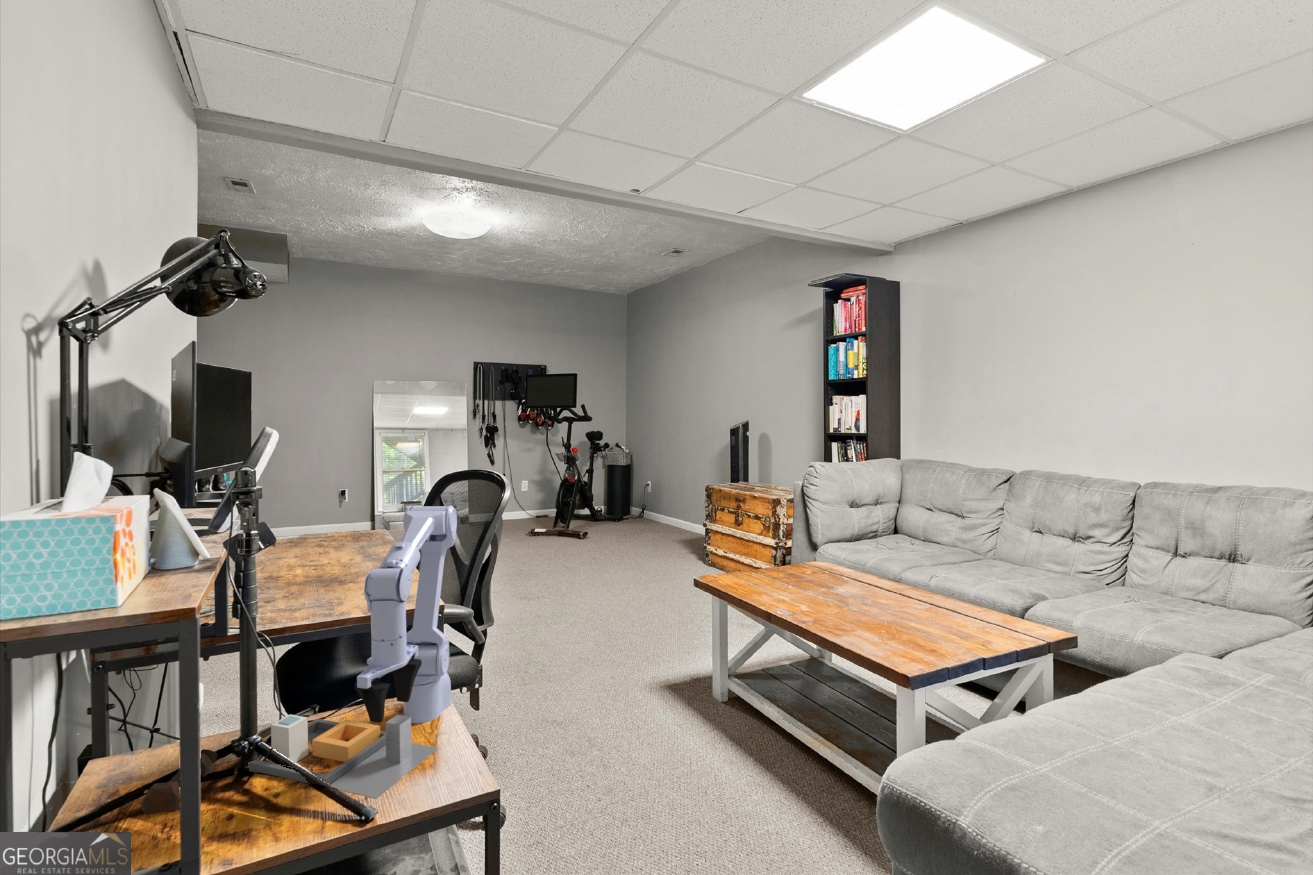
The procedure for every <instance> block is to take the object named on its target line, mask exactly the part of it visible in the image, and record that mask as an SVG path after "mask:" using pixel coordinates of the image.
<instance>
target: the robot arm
mask: <svg viewBox="0 0 1313 875" xmlns="http://www.w3.org/2000/svg"><path fill="white" fill-rule="evenodd" d="M402 525H403V529H404V533H403V534H402V535H403V536H402V538H401V541H398V542H397V543H394V544H393V545H392V546H391V547H390V549H389V551H388V552H387V554H386V555H385V557H383V558H384V559H383V560H382V562H381V563H380V565H379V567H378V568H373V569H372V570H371V571H369V572H368V573H367V575H366V577H365V581H364V587H363V593H364V599H365V600H366V604H367V606H366V607H367V612H368V613H370V629H371V631H370V634H371V635H370V636H371V639H370V640H371V641H370V642H371V646H370V647H371V657H369V658H367V659H366V664H368V665H366V667H365V669H364V670H363V671H362V672H361V673H360V674H359V675H357V676H356V682H354V691H356V693H357V694H358V696H360V698H361V700H362V701H363V704H364V706H365V709H366V711H367V715H368V718H369V722H371V723H378V724H379V723H382V722H383V721H384V718H385V706H386V705H385V704H386V698H387V694H388V692H389V689H390V686H391V684H390V683H384V682H382V680H380V679H381V678H382V677H384V676H385V675H386V674H389V673H391V672H392V676H393V679H394V680H393V681H394V687H395V697H396V701H397V702H403V716H407V717H411V724H424V723H429V722H431V721H432V722H433V720H436V719H437V718H438V717H439V716H441V714H442V713H443V712H444V711H445V710H447V709H448V708H450V707H452V694H451V693H452V692H451V691H452V687H451V686H452V683H451V682H452V681H451V678H450V676H449V674H448V669H449V665H450V641H449V640H450V639H449V637H448V636H447V635H446V634H445V633H444V632H442V631H441V630H440V629H438V628H437V627H438V622H439V620H438V619H439V611H440V603H441V593H442V586H443V585H442V584H443V575H444V567H445V566H444V565H445V560H446V559H445V558H446V554H447V551H448V549H450V548H451V547H453V546H455V541H456V537H457V536H456V535H457V528H458V527H457V526H458V514H457V510H456V508H455V507H454V506H453V505H445V506H442V505H441V506H440V505H437V506H435V505H434V506H433V505H431V506H429V505H428V506H427V505H426V506H421V505H419V506H417V505H416V506H415V505H409V506H407V508H406V510H405V511H404V512H403V522H402ZM419 562H420V565H419V566H420V567H419V573H418V582H417V590H416V599H415V605H414V613H413V614H414V615H413V620H412V621H413V623H412V627H411V629H410V630H409V631H407V617H406V616H407V600H408V598H409V596H410V592H411V588H412V583H413V573H415V570H416V568H417V567H418V564H419Z"/></svg>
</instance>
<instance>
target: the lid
mask: <svg viewBox="0 0 1313 875" xmlns="http://www.w3.org/2000/svg"><path fill="white" fill-rule="evenodd" d="M411 749H412V755H411V756H410V757H408V758H407V759H406V760H404V761H403V762H402V763H401V764H399V763H394V762H389V761H386V745H385V746H383V747H382V748H380V749H379V750H378V751H376V752H375V753H373V754H372V755H371V756H369V757H368V758H366V759H365V760H363V761H362V762H361V763H359V764H358V765H356V766H355V767H354V768H352V769H351V770H349V771H348V772H347V773H345V774H344V775H342V776H341V777H340V778H338V779H337V780H335V781H334V782H333V783H331V784H330V785H333V786H334V787H335V788H337V789H338V790H337V791H340V790H341V792H345V793H350V794H353V795H359V796H363V797H367V798H372V799H376V800H377V799H379V797H381V795H383V794H384V793H385V792H386V791H388V790H389V789H391V788H392V787H393V786H394V785H395V784H397V782H399V781H400V780H402V779H403V778H405V777H406V776H407V775H408V774H409V773H410V772H411V771H413V770H414V769H415V768H417V767H418V766H419V765H420V764H421V763H422V762H423V761H425V760H427V758H428V757H429V756H431V755H432V754H434V753H435V752H436V751H437V750H439V747H437V746H436V747H435V746H429V745H424V744H419V743H414V742H411Z"/></svg>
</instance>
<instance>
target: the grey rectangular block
mask: <svg viewBox="0 0 1313 875" xmlns="http://www.w3.org/2000/svg"><path fill="white" fill-rule="evenodd" d="M385 731H386V761H389V762H394V763H399V764H401V763H402V762H403V761H404V760H406V759H407V758H408V757H410V756H411V755H412V749H411V743H412V723H411V717H407V716H404V715H402V714H396V715H395V716H393V717H391V718H390V719H388V720H387V721H386V722H385Z"/></svg>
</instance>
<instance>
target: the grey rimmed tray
mask: <svg viewBox="0 0 1313 875" xmlns="http://www.w3.org/2000/svg"><path fill="white" fill-rule="evenodd" d="M346 740H348V741H346ZM311 741H312V742H311ZM309 742H311V745H312V746H311V747H312V756H313V757H318V758H323V759H327V760H332V761H338V762H342V763H341V764H340V765H338V766H336V767H335V768H334V769H332V770H331V771H329V772H327V774H323V773H319V772H313V771H310V772H311V773H312V774H314V775H315V776H317V778H319V779H322V781H325V782H326V783H329V784H330V785H331V783H333V782H334V781H335V780H337V779H338V778H340V777H341V776H342V775H344V774H345V773H347V772H348V771H349V770H351V769H352V768H354V767H355V766H356V765H358V764H359V763H361V762H362V761H363V760H365V759H366V758H368V757H369V756H371V755H372V754H373V753H375V752H376V751H378V750H379V749H380V748H382V747H383V746H385V745H386V730H381V725H378V724H373V723H365V722H361V721H355V720H350V719H345V720H343V721H341V722H337V721H333V720H332V721H331V720H327V719H323V718H322V719H320V718H316V719H314V720H313V721H311V722H308V743H309ZM270 746H272V745H270ZM283 766H284V765H282V766H281V764H276V763H272V762H270V761H268V760H265V761H259V760H254V761H251V762H248V768H249V771H248V772H251V773H256V774H258V773H261V774H266V775H270V776H274V777H278V778H282V779H288V780H291V781H292V780H293V781H297V782H302V783H306V784H310V783H308V781H306V779H305V778H304V777H303V776H302V775H301V774H300V773H299V772H296V771H295V770H293V769H289V768H286V767H283Z"/></svg>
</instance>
